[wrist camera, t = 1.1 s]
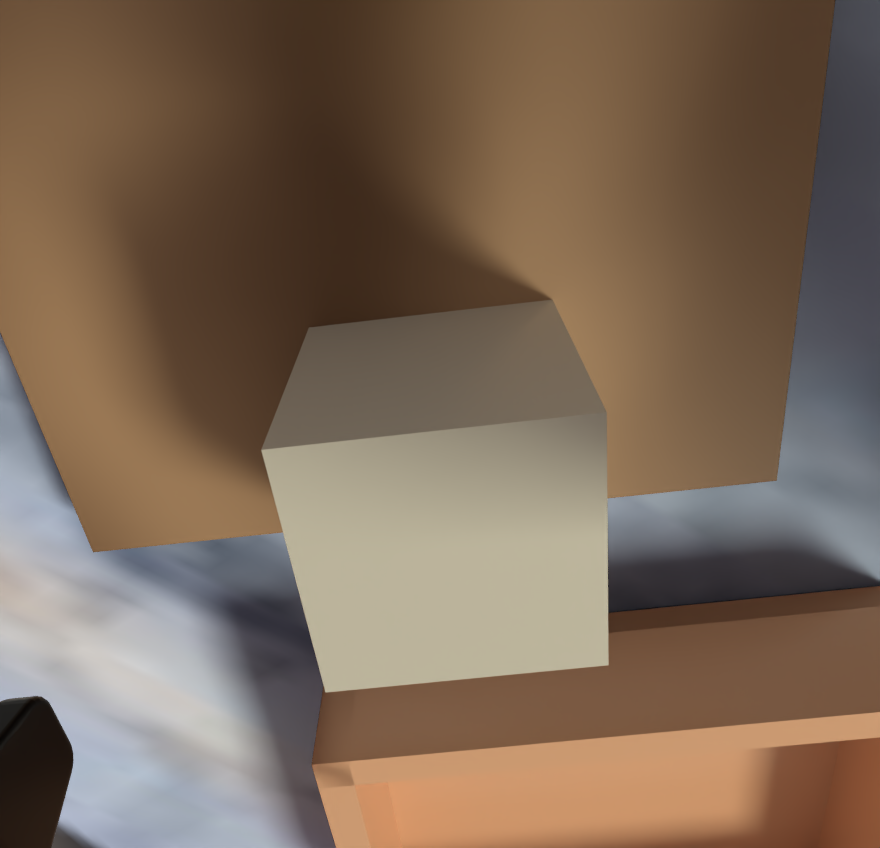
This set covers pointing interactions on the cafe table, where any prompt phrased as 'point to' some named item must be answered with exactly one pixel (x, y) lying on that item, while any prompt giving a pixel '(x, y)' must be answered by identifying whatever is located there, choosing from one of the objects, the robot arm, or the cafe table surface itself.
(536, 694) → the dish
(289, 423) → the cream cube
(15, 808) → the robot arm
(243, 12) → the board
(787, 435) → the cafe table surface
